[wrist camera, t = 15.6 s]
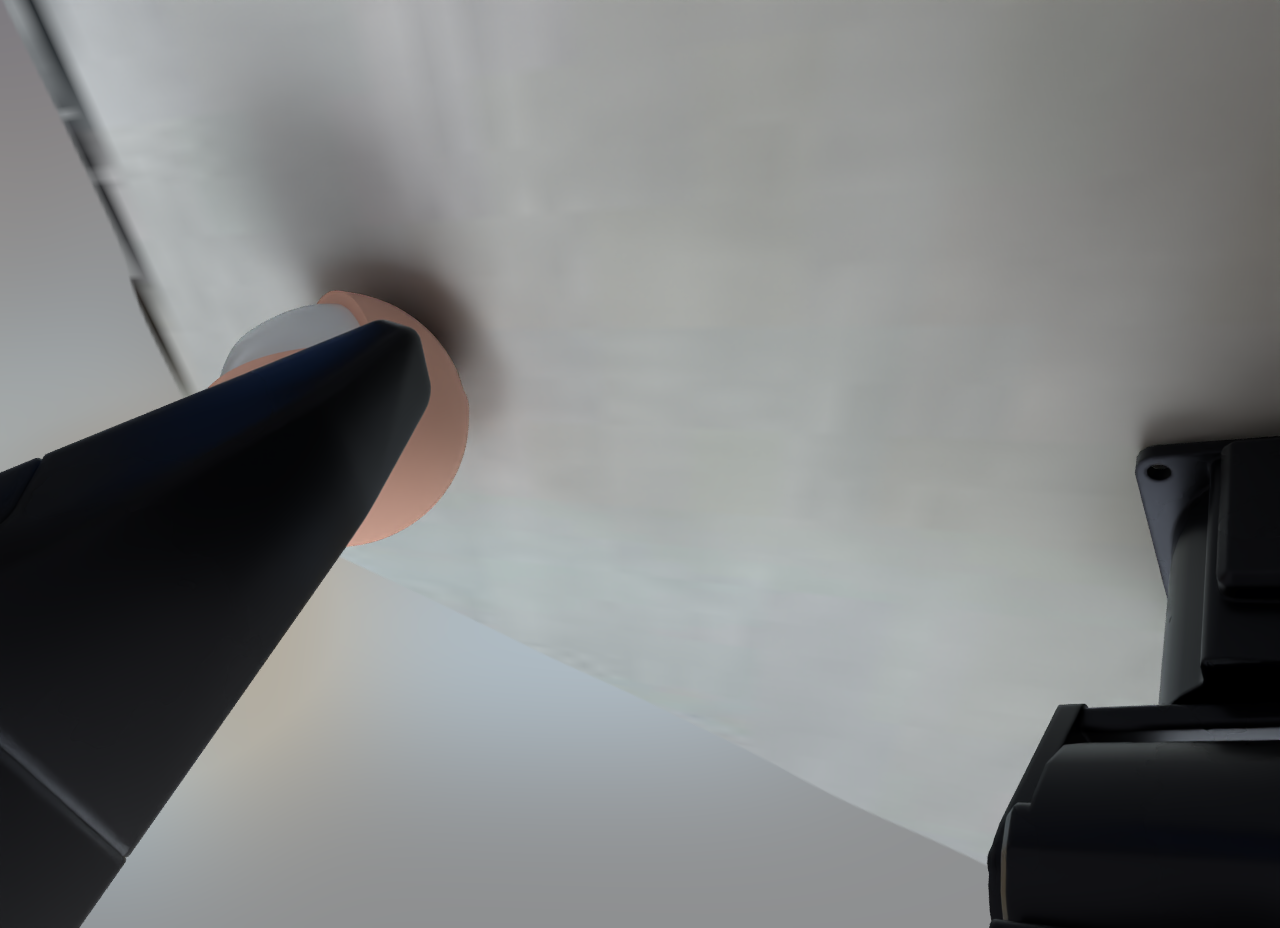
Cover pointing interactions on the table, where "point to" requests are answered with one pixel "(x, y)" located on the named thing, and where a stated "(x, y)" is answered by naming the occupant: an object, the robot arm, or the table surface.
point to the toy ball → (433, 440)
